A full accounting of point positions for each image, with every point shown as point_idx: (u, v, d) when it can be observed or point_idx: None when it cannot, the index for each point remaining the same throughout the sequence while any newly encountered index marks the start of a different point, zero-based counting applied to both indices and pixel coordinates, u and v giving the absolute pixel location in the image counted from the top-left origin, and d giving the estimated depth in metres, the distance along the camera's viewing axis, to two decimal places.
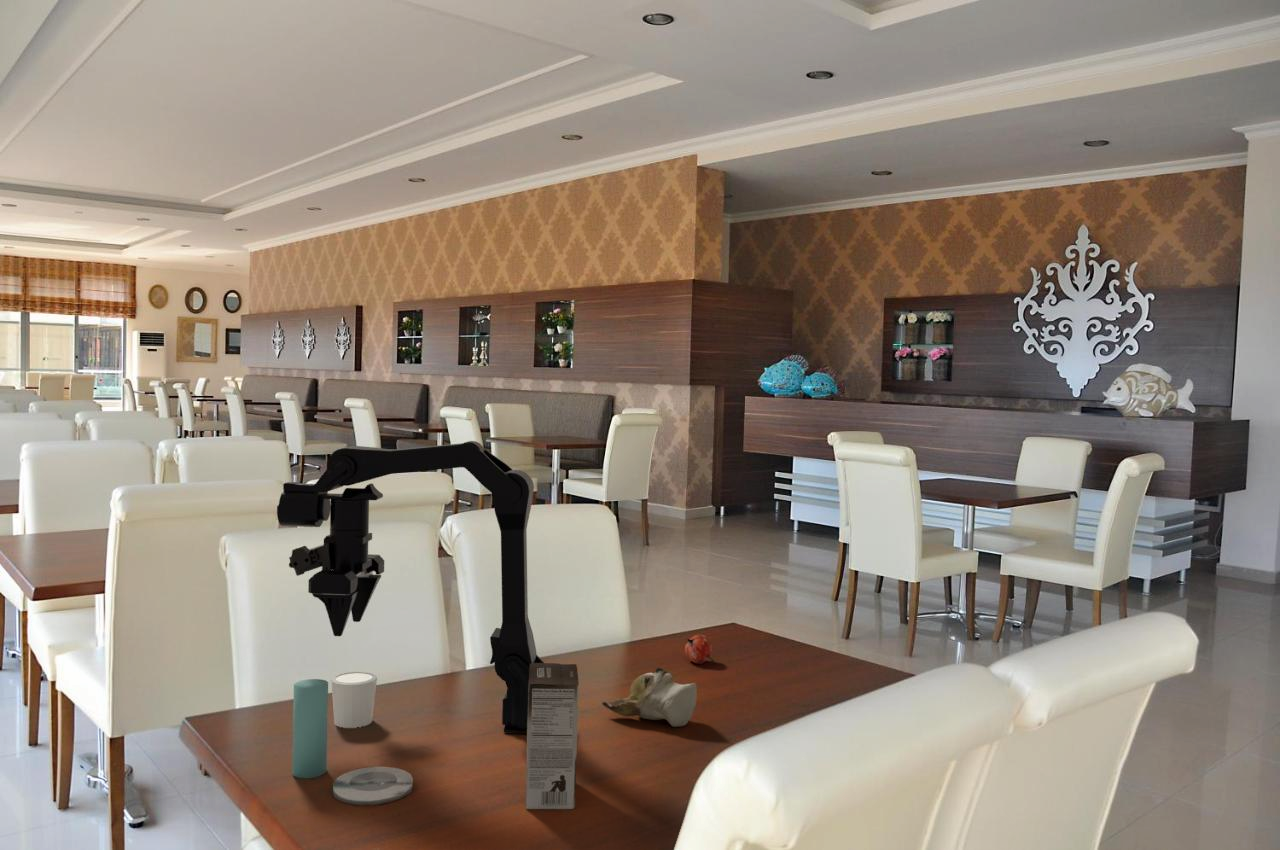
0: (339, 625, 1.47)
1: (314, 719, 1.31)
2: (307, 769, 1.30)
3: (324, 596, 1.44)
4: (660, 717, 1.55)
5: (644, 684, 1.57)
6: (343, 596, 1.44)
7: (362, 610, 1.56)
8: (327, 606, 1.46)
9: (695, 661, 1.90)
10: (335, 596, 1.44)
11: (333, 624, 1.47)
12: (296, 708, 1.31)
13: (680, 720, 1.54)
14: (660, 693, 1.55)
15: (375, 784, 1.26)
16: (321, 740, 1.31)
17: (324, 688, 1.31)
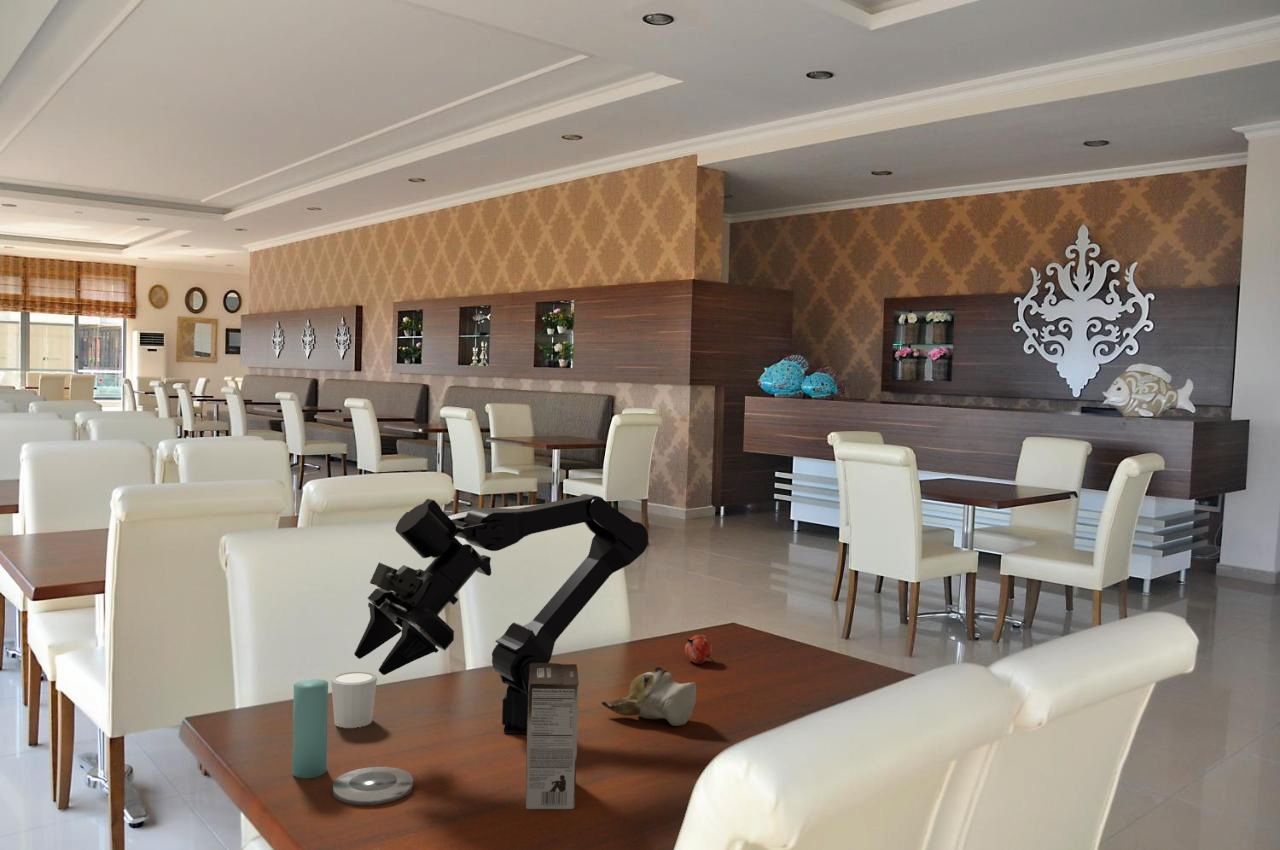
0: (394, 665, 1.34)
1: (314, 719, 1.31)
2: (307, 769, 1.30)
3: (420, 635, 1.33)
4: (660, 716, 1.56)
5: (643, 683, 1.57)
6: (433, 647, 1.34)
7: (370, 650, 1.42)
8: (404, 642, 1.33)
9: (695, 661, 1.90)
10: (428, 642, 1.33)
11: (390, 661, 1.33)
12: (296, 708, 1.31)
13: (680, 719, 1.54)
14: (660, 692, 1.55)
15: (375, 784, 1.26)
16: (321, 740, 1.31)
17: (324, 688, 1.31)
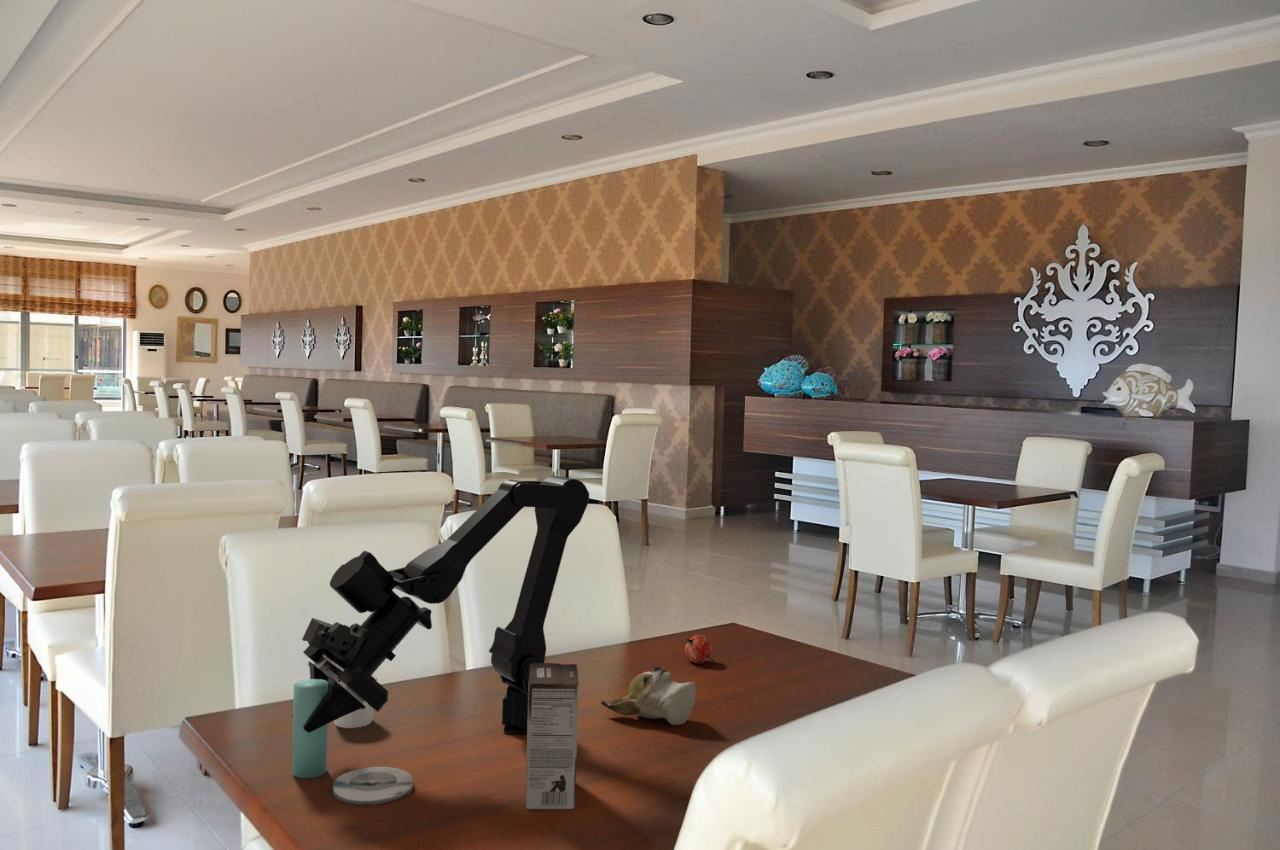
0: (319, 723, 1.30)
1: None
2: (307, 769, 1.30)
3: (345, 692, 1.29)
4: (659, 716, 1.56)
5: (643, 683, 1.57)
6: (360, 703, 1.30)
7: None
8: (330, 699, 1.30)
9: (695, 661, 1.90)
10: (354, 699, 1.30)
11: (315, 718, 1.30)
12: (296, 708, 1.30)
13: (679, 719, 1.55)
14: (659, 691, 1.56)
15: (375, 784, 1.26)
16: (321, 740, 1.31)
17: (324, 688, 1.31)
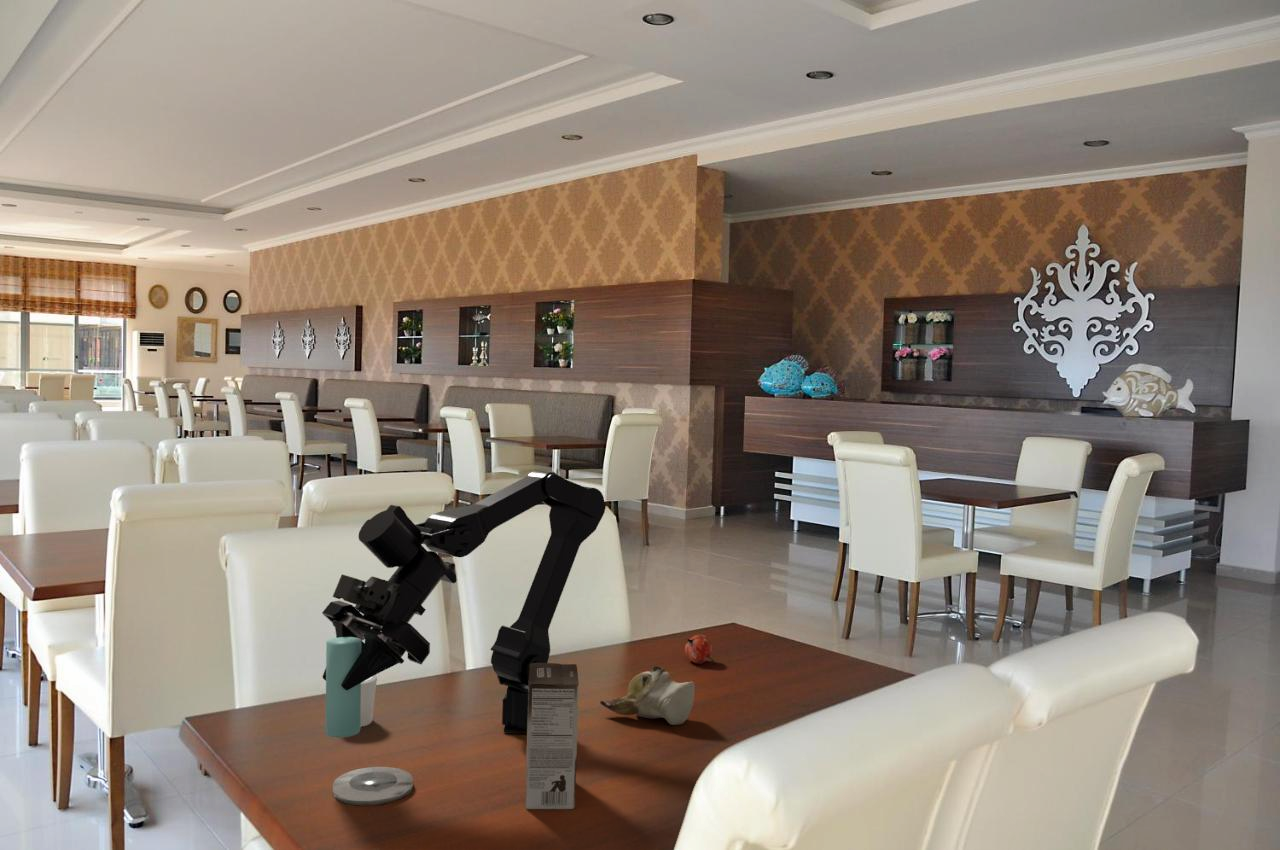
0: (357, 679, 1.27)
1: None
2: (344, 727, 1.27)
3: (386, 646, 1.27)
4: (658, 715, 1.56)
5: (642, 683, 1.57)
6: (399, 658, 1.28)
7: None
8: (369, 655, 1.27)
9: (695, 661, 1.90)
10: (394, 653, 1.28)
11: (354, 675, 1.27)
12: (332, 666, 1.27)
13: (678, 719, 1.55)
14: (658, 691, 1.56)
15: (375, 784, 1.26)
16: (357, 698, 1.28)
17: (359, 645, 1.28)
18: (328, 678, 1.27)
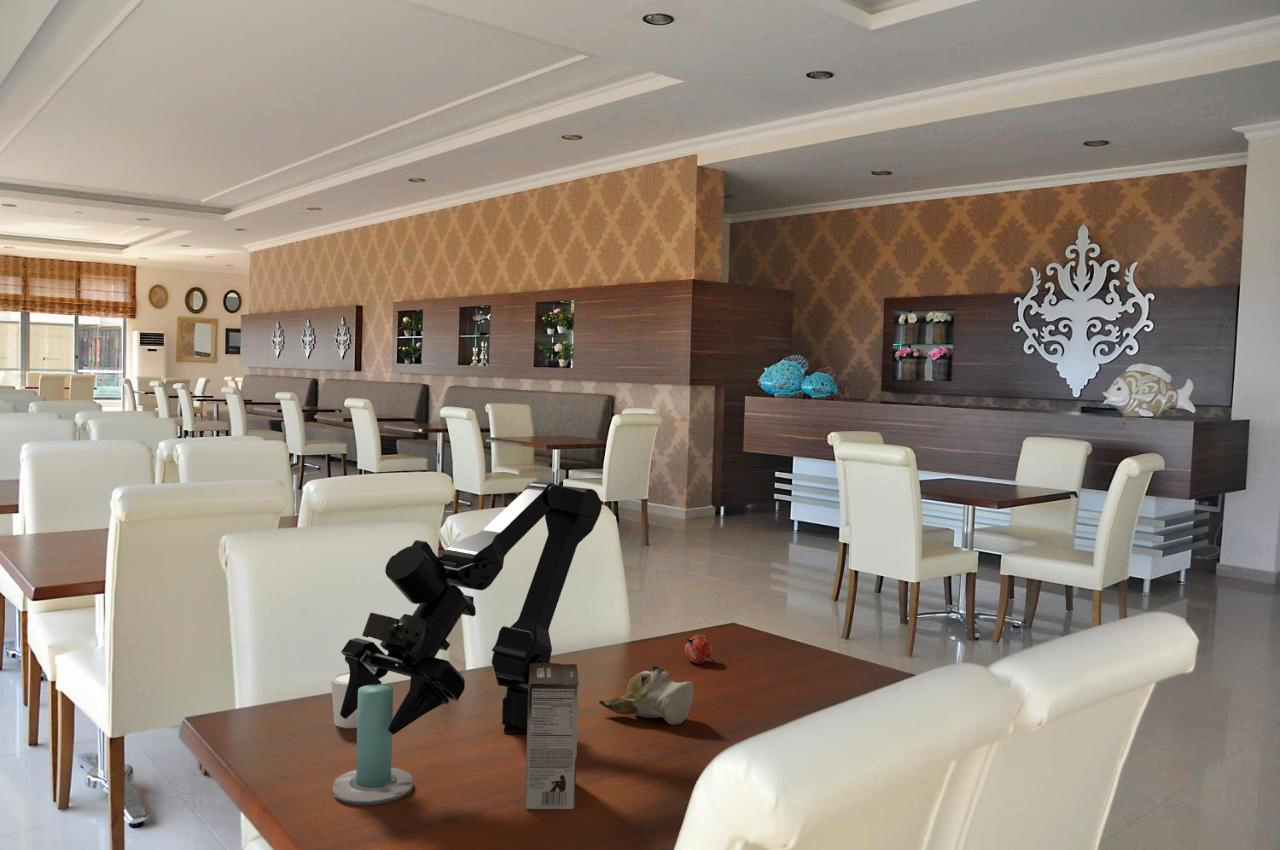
0: (404, 723, 1.24)
1: (385, 725, 1.26)
2: (378, 777, 1.26)
3: (434, 687, 1.25)
4: (657, 715, 1.56)
5: (641, 682, 1.57)
6: (445, 698, 1.27)
7: (355, 708, 1.30)
8: (416, 697, 1.25)
9: (695, 661, 1.90)
10: (441, 694, 1.26)
11: (401, 718, 1.24)
12: (366, 715, 1.25)
13: (677, 718, 1.55)
14: (657, 691, 1.56)
15: None
16: (390, 746, 1.27)
17: (392, 692, 1.27)
18: (361, 728, 1.26)
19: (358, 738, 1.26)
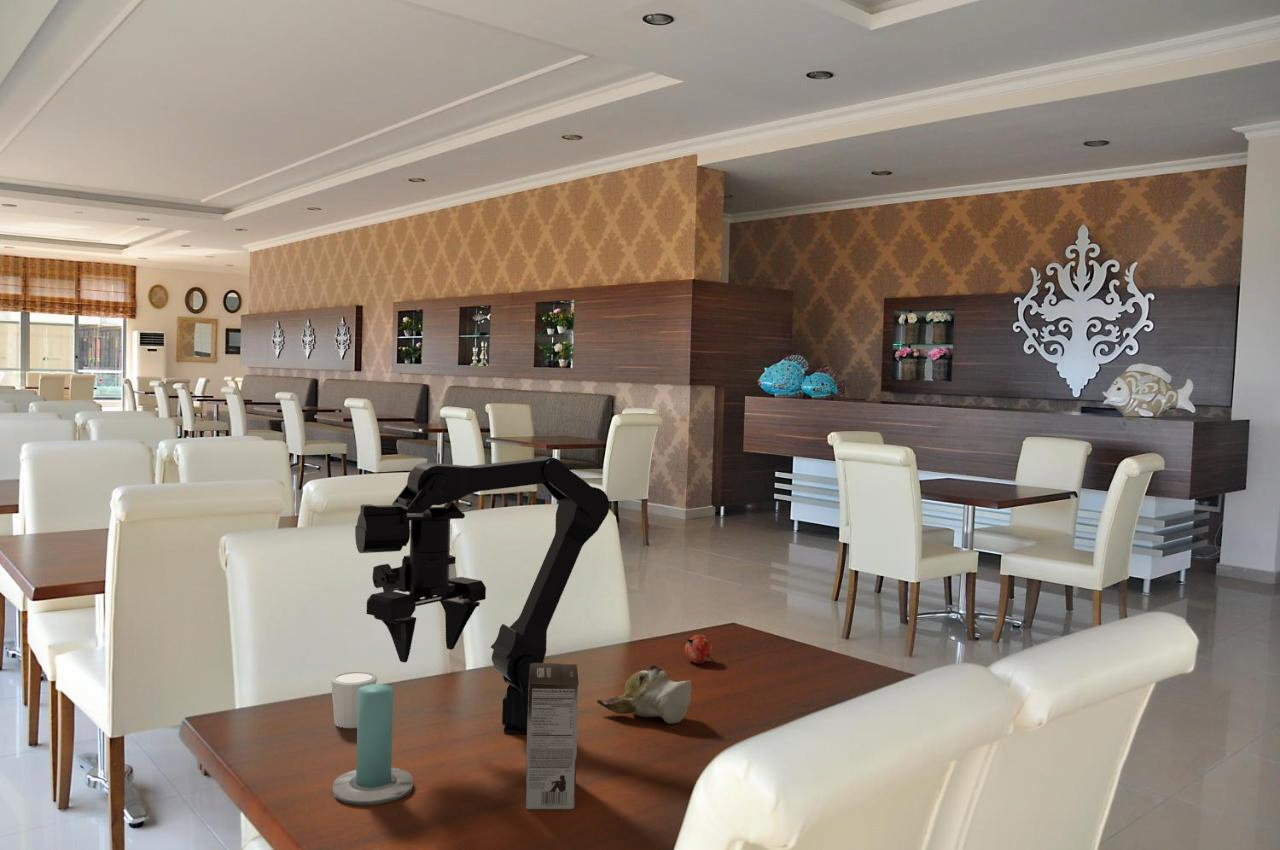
0: (402, 651, 1.39)
1: (385, 725, 1.26)
2: (378, 777, 1.26)
3: (381, 618, 1.38)
4: (655, 714, 1.57)
5: (639, 682, 1.58)
6: (394, 621, 1.36)
7: (453, 638, 1.47)
8: (390, 629, 1.39)
9: (695, 661, 1.90)
10: (389, 620, 1.37)
11: (397, 649, 1.40)
12: (366, 716, 1.25)
13: (675, 717, 1.55)
14: (655, 690, 1.56)
15: None
16: (390, 746, 1.27)
17: (392, 692, 1.27)
18: (361, 728, 1.25)
19: (358, 738, 1.26)
